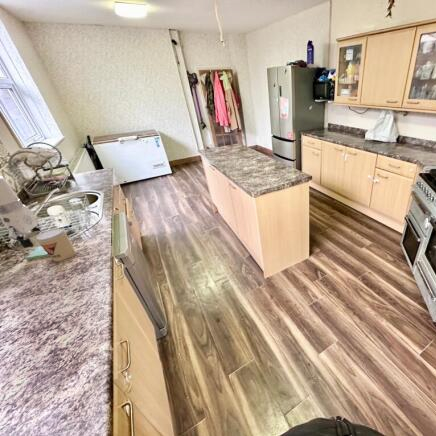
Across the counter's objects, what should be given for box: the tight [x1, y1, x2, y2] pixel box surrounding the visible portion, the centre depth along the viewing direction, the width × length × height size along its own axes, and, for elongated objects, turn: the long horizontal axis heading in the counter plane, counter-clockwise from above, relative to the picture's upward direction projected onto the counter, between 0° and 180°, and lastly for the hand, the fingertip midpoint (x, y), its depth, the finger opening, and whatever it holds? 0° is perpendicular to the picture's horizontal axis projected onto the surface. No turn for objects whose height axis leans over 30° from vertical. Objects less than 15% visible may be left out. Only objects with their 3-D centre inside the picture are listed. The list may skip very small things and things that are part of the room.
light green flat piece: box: [25, 245, 50, 261], centre depth 108 cm, size 12×10×3 cm
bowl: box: [20, 230, 43, 248], centre depth 103 cm, size 7×7×4 cm
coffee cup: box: [36, 227, 76, 262], centre depth 102 cm, size 9×9×12 cm
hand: (34, 241), depth 104 cm, fingers closed on bowl, 7 cm apart
